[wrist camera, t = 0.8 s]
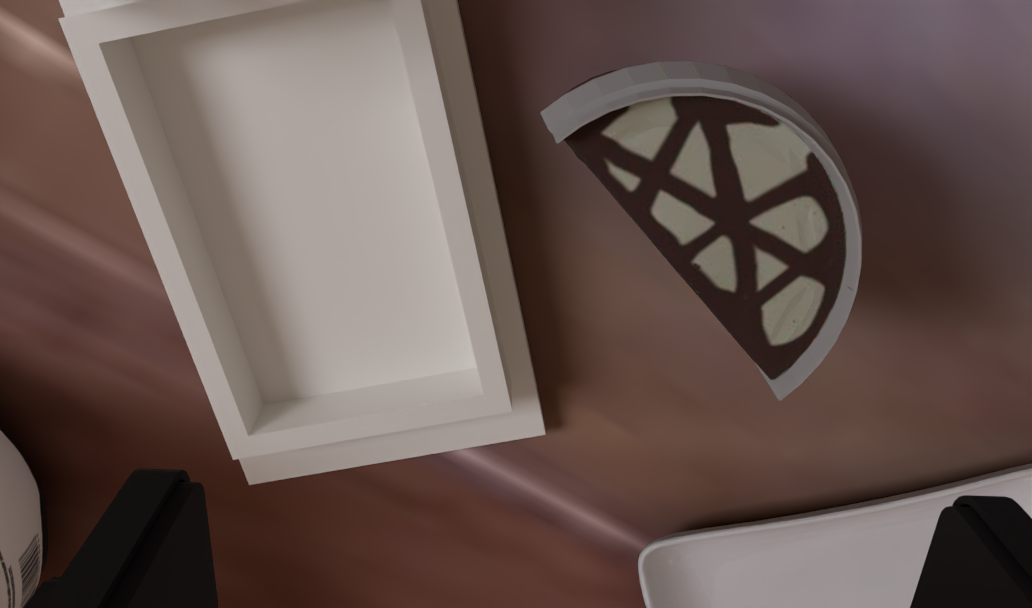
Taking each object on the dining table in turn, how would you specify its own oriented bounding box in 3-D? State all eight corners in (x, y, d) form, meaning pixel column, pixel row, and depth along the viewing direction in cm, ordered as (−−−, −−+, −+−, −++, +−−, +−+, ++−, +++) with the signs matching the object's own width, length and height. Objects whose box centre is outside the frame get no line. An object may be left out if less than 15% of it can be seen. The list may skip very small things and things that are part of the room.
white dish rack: (425, -155, 29) (383, -203, 18) (544, 422, 39) (561, 608, 28) (44, -72, 30) (-206, -74, 19) (254, 472, 40) (165, 670, 29)
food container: (836, 200, 35) (957, 297, 25) (715, 290, 36) (788, 412, 27) (657, -42, 31) (724, -30, 22) (530, 71, 32) (543, 127, 23)
